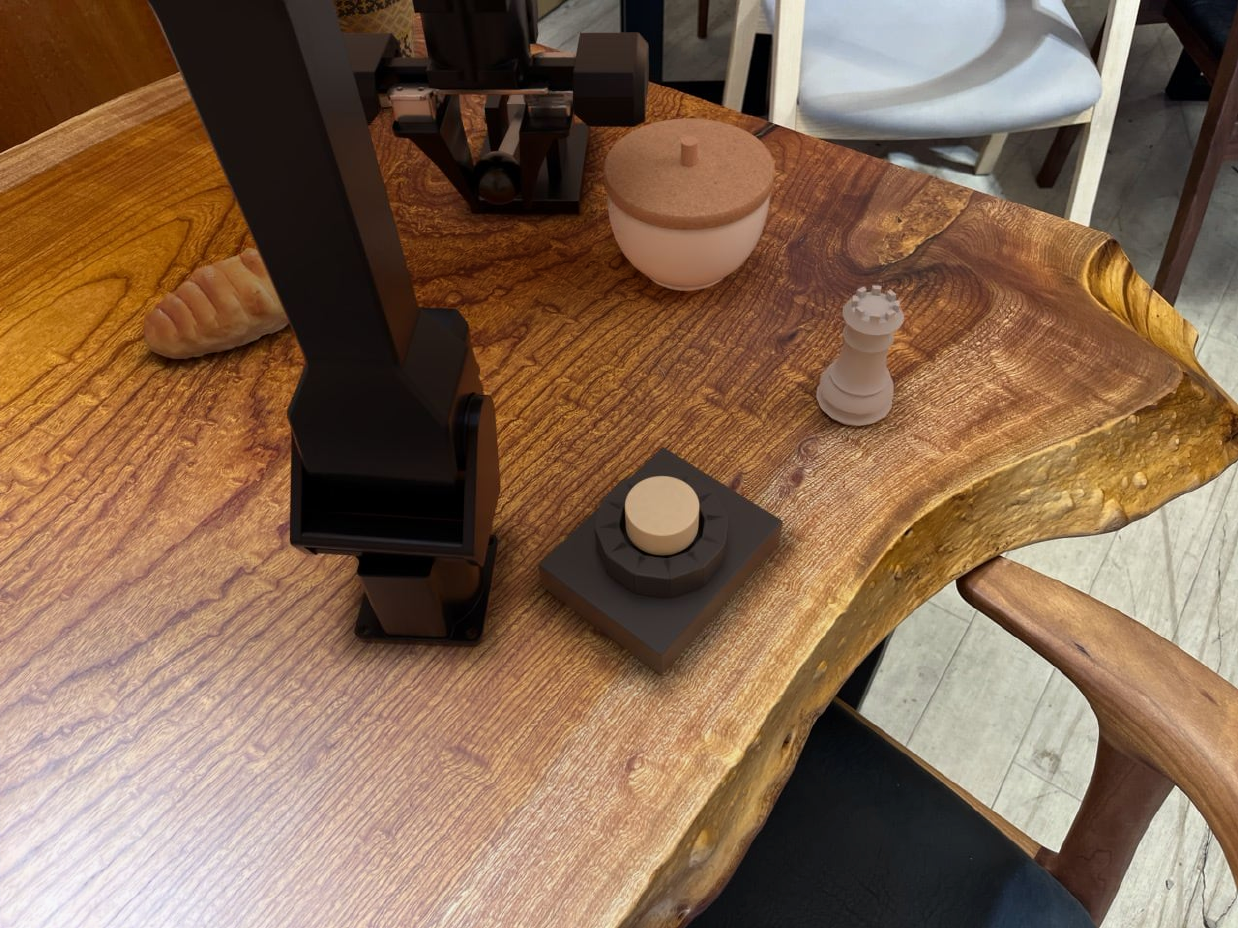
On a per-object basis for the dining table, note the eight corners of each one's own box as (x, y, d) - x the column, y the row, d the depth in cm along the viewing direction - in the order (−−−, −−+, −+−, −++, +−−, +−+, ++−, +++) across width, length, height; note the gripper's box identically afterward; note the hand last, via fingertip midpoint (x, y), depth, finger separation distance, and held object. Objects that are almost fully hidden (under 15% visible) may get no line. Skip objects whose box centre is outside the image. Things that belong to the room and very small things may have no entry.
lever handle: (522, 213, 60) (517, 162, 58) (471, 212, 60) (465, 162, 58) (551, 129, 71) (549, 85, 69) (509, 129, 72) (505, 85, 70)
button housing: (661, 677, 47) (661, 637, 44) (541, 587, 50) (533, 544, 47) (779, 544, 51) (786, 499, 48) (662, 470, 55) (662, 424, 52)
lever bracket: (579, 214, 70) (573, 130, 65) (470, 213, 70) (455, 130, 65) (590, 136, 76) (585, 54, 71) (490, 136, 77) (478, 54, 71)
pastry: (175, 386, 60) (149, 342, 57) (135, 331, 64) (109, 286, 61) (309, 319, 64) (292, 274, 61) (265, 270, 67) (246, 225, 64)
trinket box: (648, 334, 62) (647, 213, 54) (584, 240, 68) (575, 120, 61) (794, 285, 64) (811, 163, 57) (718, 199, 70) (725, 78, 63)
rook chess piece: (801, 388, 58) (818, 286, 52) (866, 367, 59) (890, 265, 53) (839, 440, 56) (861, 339, 49) (905, 417, 57) (936, 315, 50)
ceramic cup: (460, 82, 82) (439, -39, 74) (370, 134, 77) (337, 11, 70) (362, 37, 88) (333, -81, 80) (272, 83, 83) (232, -37, 75)
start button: (667, 568, 46) (667, 548, 45) (610, 530, 48) (609, 509, 46) (712, 521, 48) (714, 500, 46) (656, 485, 49) (656, 464, 48)
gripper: (651, -115, 54) (653, 135, 66) (326, -111, 55) (386, 134, 67) (642, -27, 47) (646, 236, 59) (269, -25, 48) (347, 232, 60)
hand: (502, 204), depth 61 cm, fingers closed on lever handle, 3 cm apart
